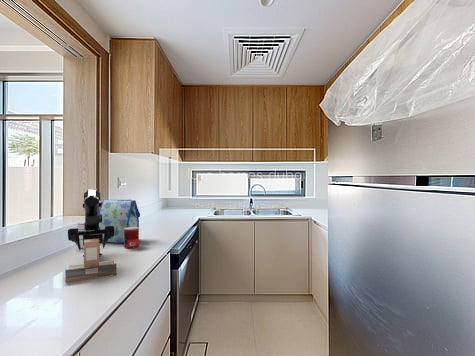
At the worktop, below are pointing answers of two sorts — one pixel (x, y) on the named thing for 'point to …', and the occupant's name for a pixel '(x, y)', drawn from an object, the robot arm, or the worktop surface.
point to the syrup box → (81, 228)
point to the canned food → (131, 237)
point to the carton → (91, 252)
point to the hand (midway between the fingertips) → (91, 248)
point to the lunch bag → (119, 217)
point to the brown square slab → (90, 271)
